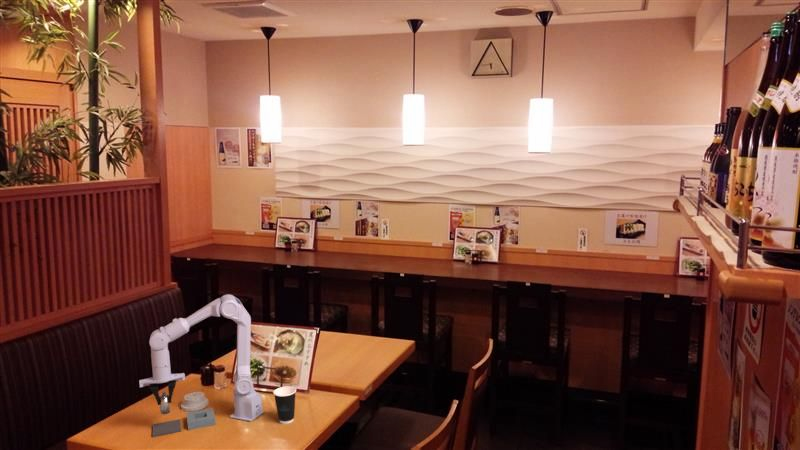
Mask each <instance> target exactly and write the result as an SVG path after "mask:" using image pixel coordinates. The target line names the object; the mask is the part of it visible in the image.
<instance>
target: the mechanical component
mask: <svg viewBox="0 0 800 450" xmlns="http://www.w3.org/2000/svg"><path fill="white" fill-rule="evenodd" d="M205 396H206V395H205V392H202V391H194V392H190V393H186V394H185V395H184V396H183V401H182V402H181V403H180V410H182V411H185V412H194V411H199V410H204V408H205V409H206V407H207V406H209V403H210V402H209V401H210V400H209V399H208V398H207V397H205Z"/></svg>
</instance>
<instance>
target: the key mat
mask: <svg viewBox="0 0 800 450" xmlns="http://www.w3.org/2000/svg"><path fill="white" fill-rule="evenodd" d="M181 423H182V422H181V419H180V418H179V419H173V420H167V421H164V422H157V423H153V424H152V438H155V437H160V436H164V435H171V434H175V433H180V432H182V426H181V425H182V424H181Z"/></svg>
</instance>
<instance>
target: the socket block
mask: <svg viewBox="0 0 800 450" xmlns="http://www.w3.org/2000/svg"><path fill="white" fill-rule="evenodd" d="M214 411H215V410H214V407H211V408H205V409H204V408H203V409H200V410H196V411H187V412H186V420H187V421H186V422H187V429H188V431H190V430H196V429H201V428H205V427H210V426H215V425H216V416H215V413H214Z"/></svg>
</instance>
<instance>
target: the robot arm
mask: <svg viewBox="0 0 800 450" xmlns="http://www.w3.org/2000/svg"><path fill="white" fill-rule="evenodd" d="M221 315H222V316H223V317H224V318H226V319H230V320H232V321H233V322H235V323H236V324H237V326H236V366H235V372H234V374H233V377H232V380H233V383H234V389H233V392H232V393H233V403H234V404H233V405H234V413H232V414H230V415H229V418H231V419H237V420H241V421H247V422H253V421H254V420H255V419H256V418H258V417H259V416H261V415H262V414H263V413H265V411H264V410H263V409H264V408H263V397H262V395H261V393H259V392H257V391H256V390H255V388H254V382H253V380H252V375H251V339H252V338H251V336H252V335H251V334H252V331H251V330H252V325H251V324H252V323H251V322H252V317H251V314H249V312H248V311H247V309H246V308H245V307H244V305H243V303H242V302H241V301H240V299H239V298H237V297H236V296H234V295H233V294H229V293H228V294H224V295H222V296H221V297H219V298H216V299H215V300H212V301H211V302H209V303H208V304H206V305H204V306H203V307H202V308H200V309H198V310H197V311H195V312H194V313H192V314H191V315H188V317H185V318H183V317H179V318H173V319H172V322H170V323H168V324H167V325H165V326H160V327H159V329H155V330H154V331H152V333H151V334H150V337H149V341H148V343H149V346H150V352H151V353H150V358H151V367H152V369H151V370H152V376H151V377H148V378H144V379H139V381H138V382H139V388H144V387H146V386H148V387H149V390H150V392H151V393H152V394H153V396H154V398H155V401H156V403H157V405H158V406H160V400H159V396H160V394H159V393H160V392H159V385H160V384H164V383H167V387H168V388H167V389H168V395H169V404H171V403H172V399H173V393H174V390H175V388H176V386H177V385H176V384H177V383H176V382H178V381H185V380H186V374H185V373H184V372H182V373H172V371H171V360H170V359H171V358H170V357H171V356H170V351H169V343H172V342H174V341H175V340H177V339H179V338H181V337H182V336H184V335H185V334H188V332H190V328H191V327H193V326H195V325H196V324H199V323H200V322H202V321H203V320H205V319H207V318H209V317H217V318H218V317H221Z"/></svg>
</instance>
